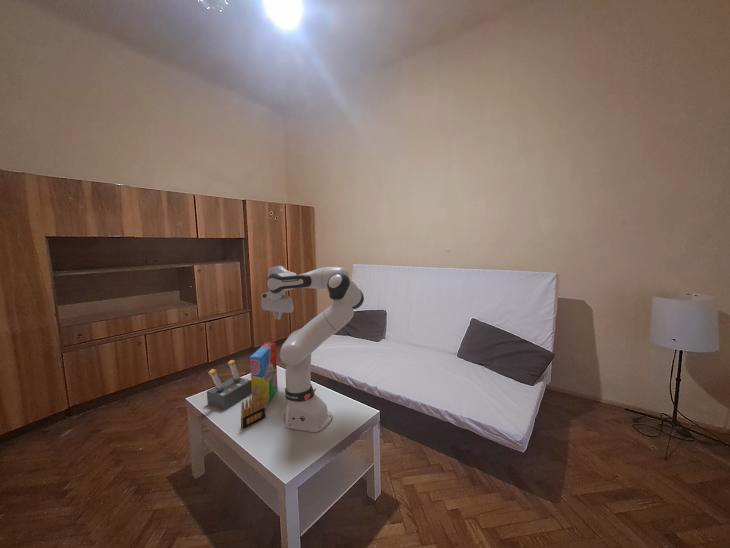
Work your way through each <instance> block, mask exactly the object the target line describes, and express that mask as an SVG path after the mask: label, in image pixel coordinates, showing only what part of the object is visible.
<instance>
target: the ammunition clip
mask: <svg viewBox="0 0 730 548" xmlns="http://www.w3.org/2000/svg"><path fill="white" fill-rule="evenodd" d="M240 408H241V411H240V414H241V416H240V427H241V429H242V430H245V429H247V428H248V427H251V426H253V425H255V424H257V423H259V422H260V421H263V420H264V419H266V418H267V417H266V409H265V407H264V401H263V395H262V393H261V396H260V400H259V395H257V404H256V399H255V397H253V406H252V397H250V398H249V401H248V399H246V400H245V403H244V401H242V402H241V407H240Z"/></svg>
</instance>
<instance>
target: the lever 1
mask: <svg viewBox="0 0 730 548" xmlns="http://www.w3.org/2000/svg"><path fill="white" fill-rule="evenodd" d="M207 373H208V375H209V376H210V377H211V378H212V381H213V382H214V385H215V387H216V390H220V391H223V390H224V389H225V387H224V386H223V385H222V383H223V382H221V380H220V377H219V376H218V371H217V369H214V368H211V369H210V370H209V371H208V372H207Z"/></svg>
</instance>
